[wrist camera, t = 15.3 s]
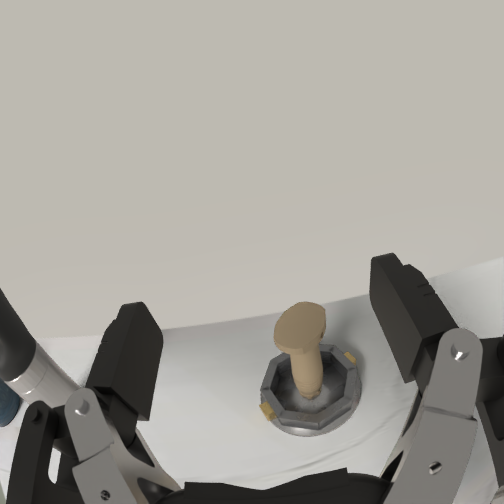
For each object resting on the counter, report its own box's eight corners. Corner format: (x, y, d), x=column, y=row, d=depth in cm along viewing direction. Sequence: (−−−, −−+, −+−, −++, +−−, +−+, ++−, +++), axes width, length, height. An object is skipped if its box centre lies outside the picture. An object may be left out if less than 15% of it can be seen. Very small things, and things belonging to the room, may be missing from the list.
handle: (335, 377, 37) (333, 307, 29) (315, 414, 33) (307, 354, 25) (305, 368, 40) (293, 297, 32) (284, 402, 36) (264, 339, 28)
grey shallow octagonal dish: (291, 456, 30) (288, 449, 28) (244, 383, 41) (238, 371, 39) (381, 395, 33) (385, 383, 31) (323, 337, 45) (322, 323, 43)
